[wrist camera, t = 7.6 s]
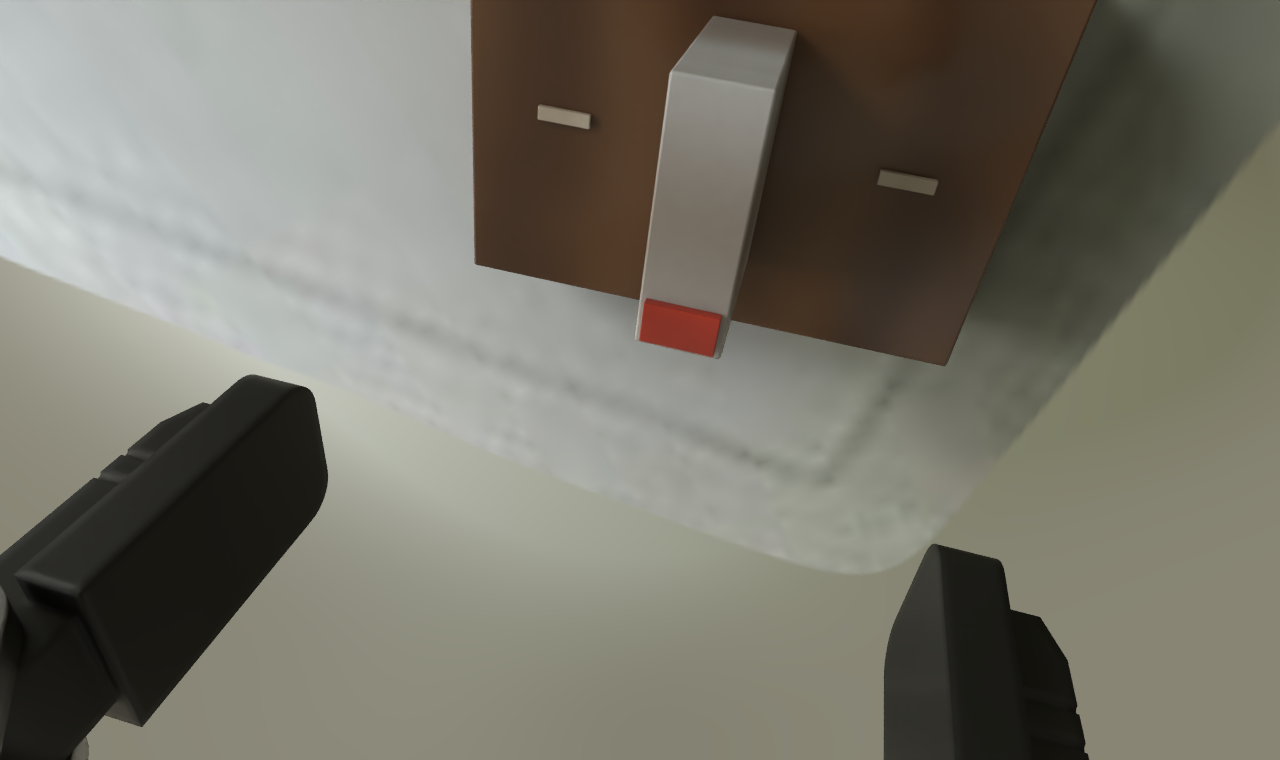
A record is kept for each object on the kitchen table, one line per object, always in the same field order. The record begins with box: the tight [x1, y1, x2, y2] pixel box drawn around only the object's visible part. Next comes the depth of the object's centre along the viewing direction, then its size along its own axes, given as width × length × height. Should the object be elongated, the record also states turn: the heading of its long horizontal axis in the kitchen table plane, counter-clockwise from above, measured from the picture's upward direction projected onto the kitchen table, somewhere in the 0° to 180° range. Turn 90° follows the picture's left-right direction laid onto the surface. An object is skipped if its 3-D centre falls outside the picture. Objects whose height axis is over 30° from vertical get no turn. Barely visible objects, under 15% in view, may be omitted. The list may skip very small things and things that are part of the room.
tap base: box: [471, 0, 1097, 366], centre depth 22 cm, size 14×10×3 cm
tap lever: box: [635, 16, 797, 359], centre depth 18 cm, size 6×2×5 cm, turn 173°
